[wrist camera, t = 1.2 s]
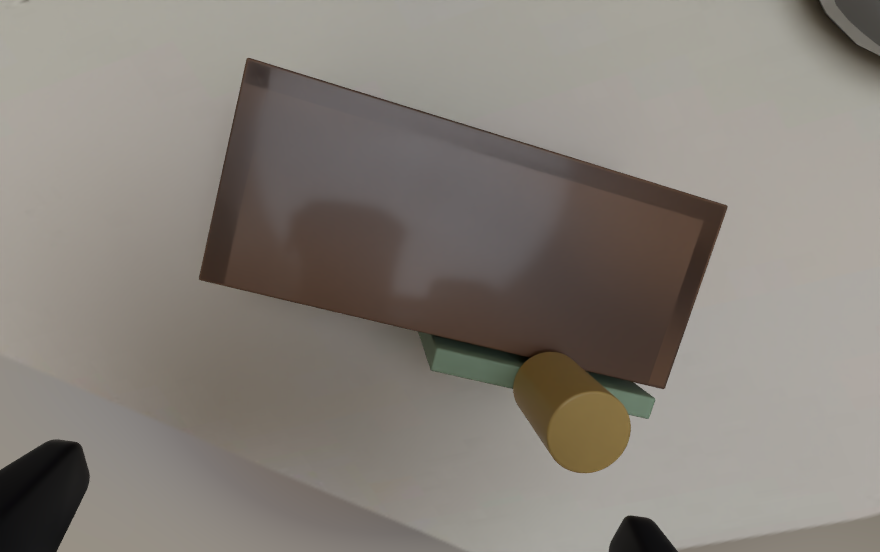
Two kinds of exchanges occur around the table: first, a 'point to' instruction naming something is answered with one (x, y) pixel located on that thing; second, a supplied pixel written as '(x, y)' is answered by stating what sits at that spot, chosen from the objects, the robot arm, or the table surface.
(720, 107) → the table surface
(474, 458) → the table surface
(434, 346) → the sliding door
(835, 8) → the alarm clock
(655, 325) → the cupboard
